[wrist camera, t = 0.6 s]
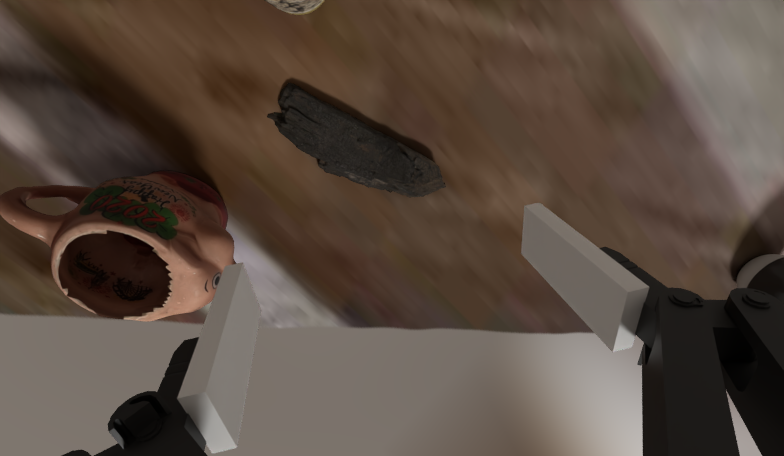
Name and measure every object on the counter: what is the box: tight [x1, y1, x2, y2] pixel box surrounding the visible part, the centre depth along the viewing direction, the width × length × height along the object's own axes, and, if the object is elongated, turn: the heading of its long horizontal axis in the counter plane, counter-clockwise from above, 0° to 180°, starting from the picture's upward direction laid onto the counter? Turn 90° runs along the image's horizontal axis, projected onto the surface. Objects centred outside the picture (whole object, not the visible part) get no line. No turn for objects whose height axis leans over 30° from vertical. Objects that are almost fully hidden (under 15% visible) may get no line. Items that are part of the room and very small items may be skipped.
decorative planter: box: [0, 171, 236, 321], centre depth 37 cm, size 20×12×14 cm, turn 61°
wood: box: [267, 83, 446, 197], centre depth 43 cm, size 22×7×3 cm, turn 60°
